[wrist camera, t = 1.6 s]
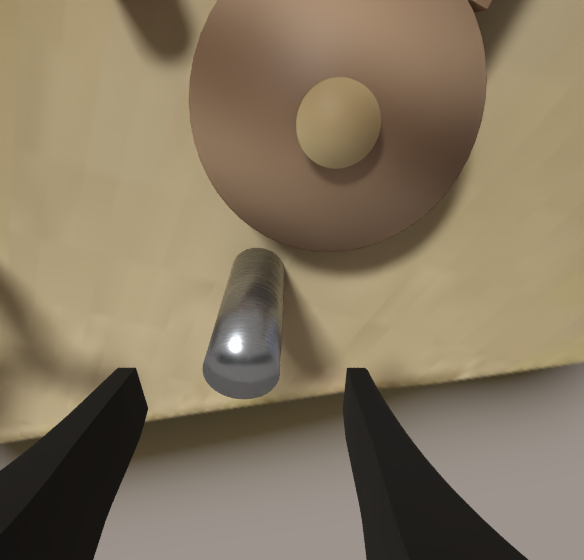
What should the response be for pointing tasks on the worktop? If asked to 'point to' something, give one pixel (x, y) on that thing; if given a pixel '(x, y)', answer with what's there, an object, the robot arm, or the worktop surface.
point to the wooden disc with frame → (336, 112)
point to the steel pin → (248, 328)
